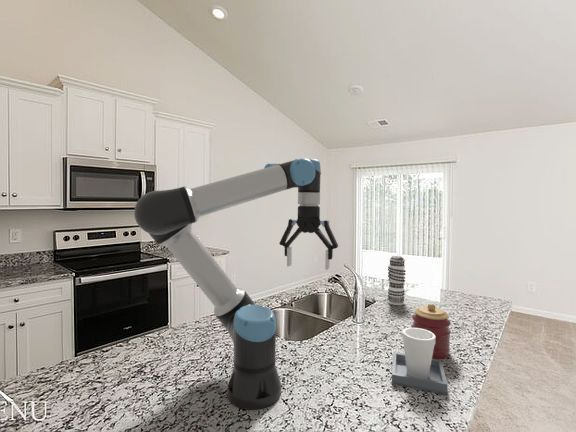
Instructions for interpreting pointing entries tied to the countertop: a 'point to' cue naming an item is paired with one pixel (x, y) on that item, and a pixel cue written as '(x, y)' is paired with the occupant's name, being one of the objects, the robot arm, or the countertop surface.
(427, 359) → the foam cup
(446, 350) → the canister
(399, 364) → the tray
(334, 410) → the countertop surface
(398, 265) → the decorative candle
